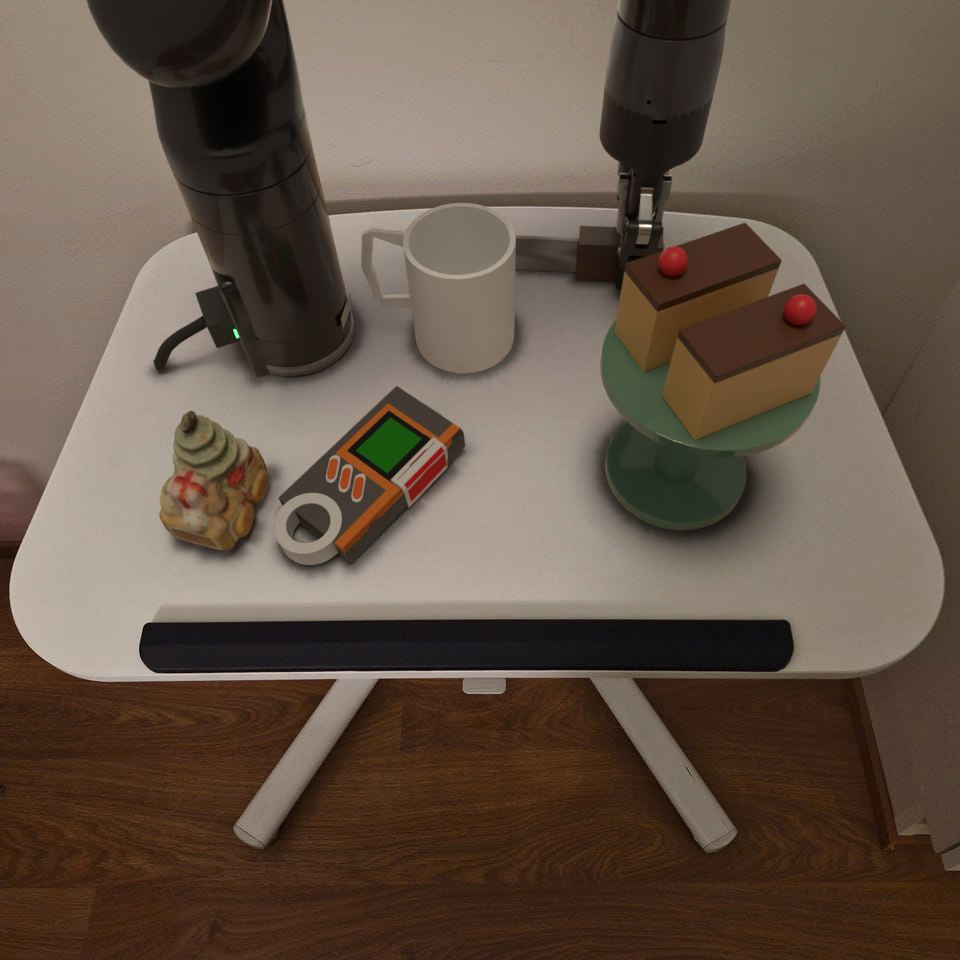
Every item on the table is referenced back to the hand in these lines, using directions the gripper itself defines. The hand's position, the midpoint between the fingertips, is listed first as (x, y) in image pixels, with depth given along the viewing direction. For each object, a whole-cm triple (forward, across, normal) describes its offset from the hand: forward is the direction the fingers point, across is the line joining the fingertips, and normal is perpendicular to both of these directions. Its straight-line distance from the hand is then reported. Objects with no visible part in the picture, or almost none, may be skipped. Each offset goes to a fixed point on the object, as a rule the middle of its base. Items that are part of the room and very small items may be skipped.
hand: (627, 270), depth 68 cm
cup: (+1, +8, -15) cm, 17 cm away
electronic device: (+1, +24, -19) cm, 31 cm away
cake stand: (0, +20, +3) cm, 21 cm away
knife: (0, 0, -5) cm, 5 cm away
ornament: (+1, +26, -29) cm, 39 cm away
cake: (-12, +20, +3) cm, 24 cm away
